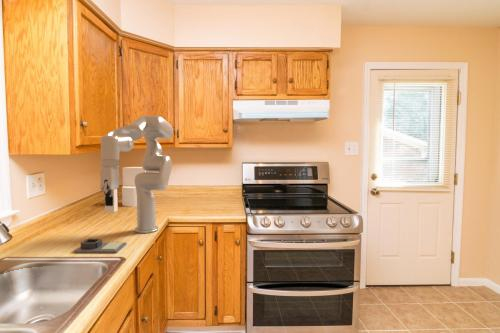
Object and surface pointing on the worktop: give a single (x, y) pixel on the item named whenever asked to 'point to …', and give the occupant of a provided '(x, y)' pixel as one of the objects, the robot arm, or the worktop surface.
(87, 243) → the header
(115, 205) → the plug
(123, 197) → the white tall block
